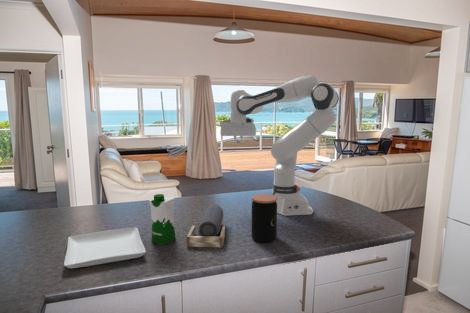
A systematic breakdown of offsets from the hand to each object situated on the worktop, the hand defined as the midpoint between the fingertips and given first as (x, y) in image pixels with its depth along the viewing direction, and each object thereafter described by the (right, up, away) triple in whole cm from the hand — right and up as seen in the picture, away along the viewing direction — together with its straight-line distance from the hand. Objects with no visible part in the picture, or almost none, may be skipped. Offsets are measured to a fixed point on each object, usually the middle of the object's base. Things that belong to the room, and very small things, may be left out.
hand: (238, 143), depth 186 cm
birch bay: (-14, -42, -49) cm, 66 cm away
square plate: (-52, -45, -59) cm, 91 cm away
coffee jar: (+10, -42, -48) cm, 64 cm away
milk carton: (-32, -43, -49) cm, 73 cm away
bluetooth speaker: (-12, -41, -41) cm, 60 cm away
